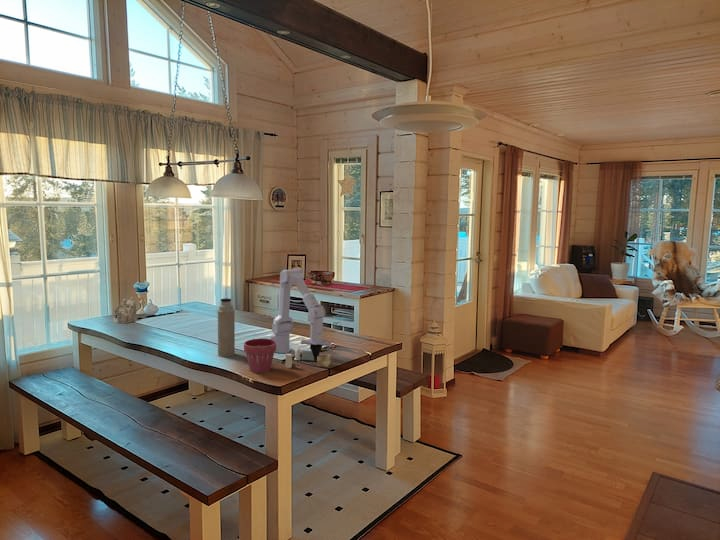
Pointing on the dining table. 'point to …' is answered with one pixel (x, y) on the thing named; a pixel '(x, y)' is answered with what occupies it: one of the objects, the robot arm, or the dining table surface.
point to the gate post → (297, 354)
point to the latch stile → (288, 360)
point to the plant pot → (260, 354)
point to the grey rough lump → (126, 312)
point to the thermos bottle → (226, 329)
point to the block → (323, 360)
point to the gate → (307, 355)
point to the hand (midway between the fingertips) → (316, 360)
